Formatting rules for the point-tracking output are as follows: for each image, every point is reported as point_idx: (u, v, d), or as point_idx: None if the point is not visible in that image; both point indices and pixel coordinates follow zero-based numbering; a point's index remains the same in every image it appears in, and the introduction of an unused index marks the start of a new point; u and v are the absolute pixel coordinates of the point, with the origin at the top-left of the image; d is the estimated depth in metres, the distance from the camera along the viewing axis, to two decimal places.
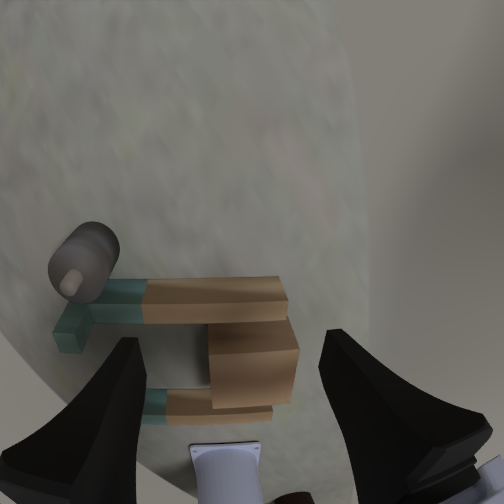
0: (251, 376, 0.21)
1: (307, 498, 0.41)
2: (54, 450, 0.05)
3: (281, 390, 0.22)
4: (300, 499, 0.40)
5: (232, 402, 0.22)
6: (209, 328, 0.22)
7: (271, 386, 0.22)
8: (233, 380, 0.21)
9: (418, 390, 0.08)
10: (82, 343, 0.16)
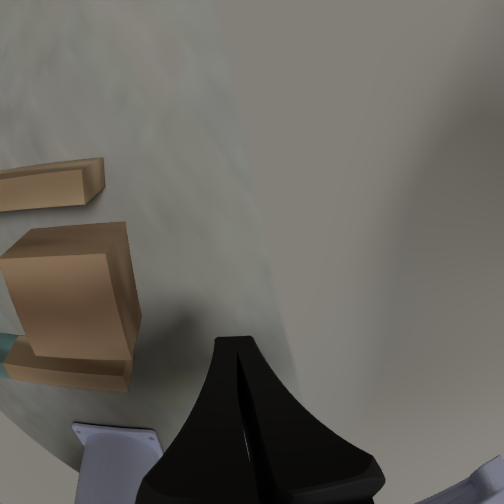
0: (56, 300, 0.13)
1: None
2: (206, 463, 0.05)
3: (108, 334, 0.14)
4: None
5: (52, 347, 0.14)
6: (24, 236, 0.14)
7: (91, 325, 0.14)
8: (37, 306, 0.13)
9: (306, 414, 0.07)
10: None
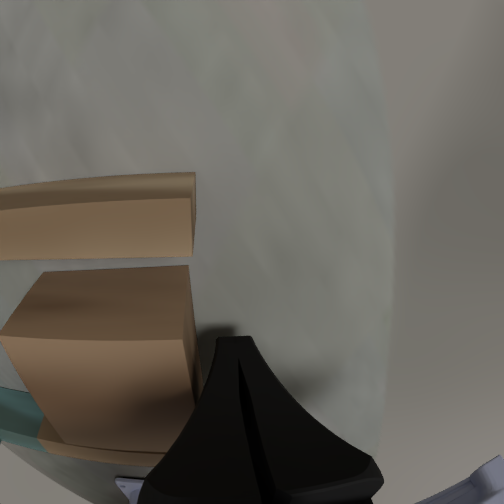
0: (96, 394, 0.08)
1: None
2: (209, 463, 0.05)
3: (175, 429, 0.10)
4: None
5: (90, 438, 0.10)
6: (32, 289, 0.10)
7: (151, 420, 0.09)
8: (66, 398, 0.08)
9: (304, 414, 0.07)
10: None
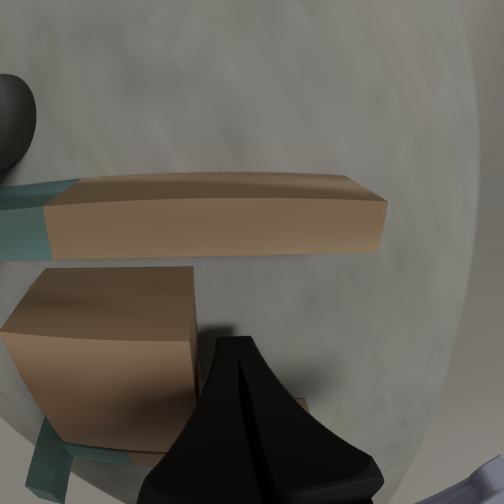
0: (97, 393, 0.08)
1: None
2: (209, 463, 0.05)
3: (175, 430, 0.10)
4: None
5: (88, 437, 0.10)
6: (34, 285, 0.09)
7: (151, 420, 0.09)
8: (67, 396, 0.08)
9: (304, 414, 0.07)
10: None
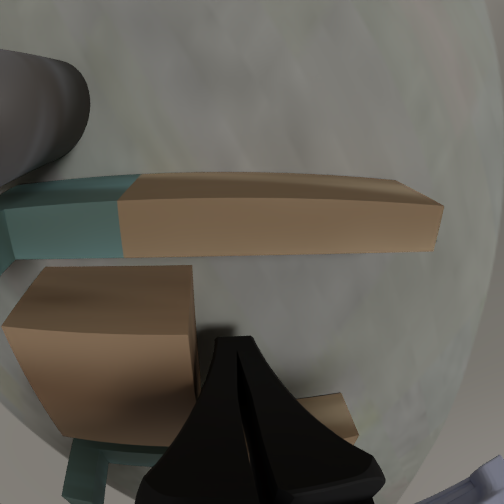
0: (98, 387, 0.09)
1: None
2: (206, 463, 0.05)
3: (174, 424, 0.10)
4: None
5: (88, 431, 0.10)
6: (36, 280, 0.10)
7: (151, 415, 0.09)
8: (67, 390, 0.09)
9: (306, 414, 0.07)
10: None
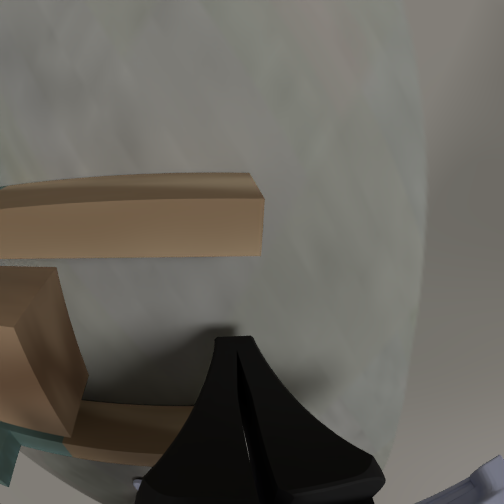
0: None
1: None
2: (206, 463, 0.05)
3: (38, 411, 0.09)
4: None
5: None
6: None
7: (18, 398, 0.09)
8: None
9: (306, 414, 0.07)
10: None
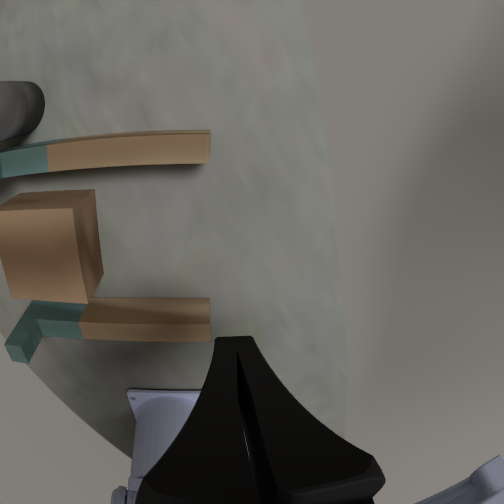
0: (32, 247, 0.15)
1: None
2: (206, 463, 0.05)
3: (70, 278, 0.17)
4: None
5: (26, 289, 0.16)
6: (13, 197, 0.16)
7: (57, 269, 0.16)
8: (18, 252, 0.15)
9: (306, 414, 0.07)
10: None
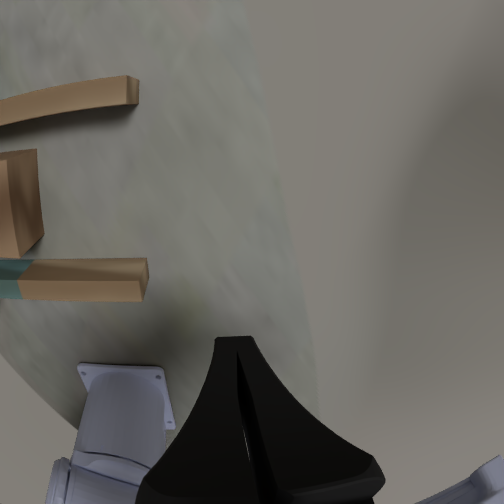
0: None
1: None
2: (207, 463, 0.05)
3: (4, 232, 0.15)
4: None
5: None
6: None
7: None
8: None
9: (306, 414, 0.07)
10: None
